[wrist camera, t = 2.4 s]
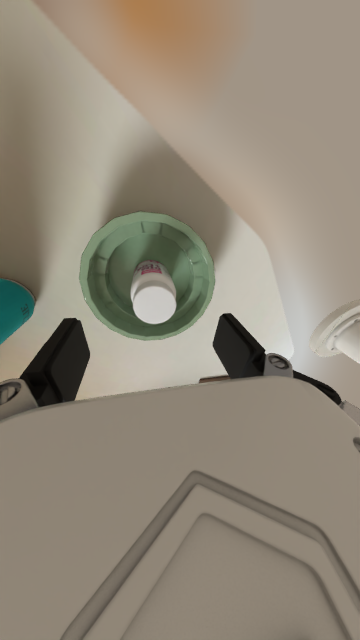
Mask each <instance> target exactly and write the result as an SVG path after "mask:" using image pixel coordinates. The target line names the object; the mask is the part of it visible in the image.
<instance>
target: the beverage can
mask: <svg viewBox="0 0 360 640" xmlns="http://www.w3.org/2000/svg"><path fill="white" fill-rule="evenodd" d="M34 307H35V299H34V296H33V295H32V293H31V292H30V291H29V290H28V289H27V288H26V287H25V286H23V285H22V284H20V283H18V282H15V281H13V280H9V279H0V344H2V343H3V342H4V341H5V340H6V339H7V338H8V337H9V336H10V335H12V334H13V333H14V332H15V331H16V330H17V329H18V328H19V327H20V326H22V325H23V324H24V323H25V322H26V321H27V320H28V319H29V318H30V317H31V316H32V314H33V311H34Z"/></svg>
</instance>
